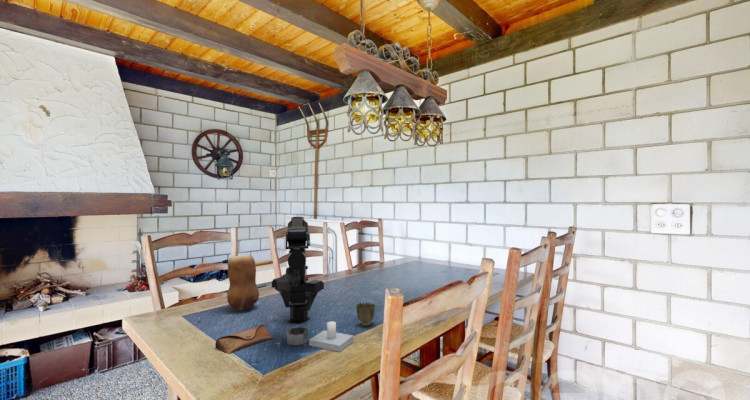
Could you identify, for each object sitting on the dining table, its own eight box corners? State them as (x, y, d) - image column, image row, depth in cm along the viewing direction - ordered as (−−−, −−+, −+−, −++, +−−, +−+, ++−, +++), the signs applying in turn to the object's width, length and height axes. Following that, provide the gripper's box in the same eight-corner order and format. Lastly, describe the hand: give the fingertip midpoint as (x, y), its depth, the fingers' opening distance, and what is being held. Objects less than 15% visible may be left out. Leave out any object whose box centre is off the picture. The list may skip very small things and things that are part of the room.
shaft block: (309, 345, 112) (309, 324, 112) (324, 335, 120) (324, 316, 120) (339, 352, 106) (339, 330, 107) (353, 341, 115) (353, 321, 115)
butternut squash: (237, 304, 159) (237, 252, 159) (264, 305, 157) (263, 252, 157) (220, 314, 145) (220, 257, 145) (249, 315, 143) (248, 257, 143)
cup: (373, 329, 126) (372, 308, 126) (354, 328, 127) (354, 307, 127) (376, 322, 133) (376, 302, 133) (359, 321, 134) (358, 301, 134)
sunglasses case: (227, 355, 105) (222, 334, 107) (218, 361, 109) (213, 341, 111) (276, 337, 119) (271, 319, 121) (267, 343, 122) (261, 325, 125)
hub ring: (283, 343, 114) (282, 332, 114) (296, 335, 120) (295, 326, 120) (299, 346, 111) (299, 336, 111) (311, 338, 117) (311, 328, 117)
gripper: (260, 266, 112) (260, 312, 112) (305, 270, 105) (305, 320, 104) (282, 261, 123) (282, 303, 122) (324, 264, 115) (325, 309, 115)
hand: (297, 308), depth 116 cm, fingers open, 9 cm apart
